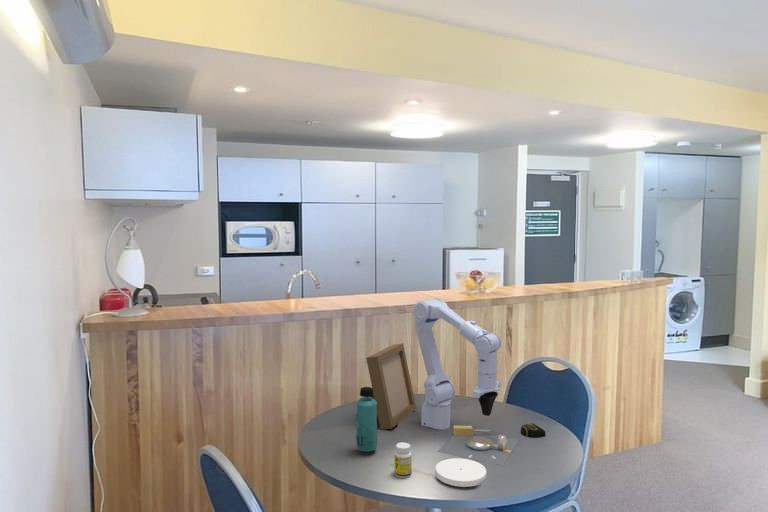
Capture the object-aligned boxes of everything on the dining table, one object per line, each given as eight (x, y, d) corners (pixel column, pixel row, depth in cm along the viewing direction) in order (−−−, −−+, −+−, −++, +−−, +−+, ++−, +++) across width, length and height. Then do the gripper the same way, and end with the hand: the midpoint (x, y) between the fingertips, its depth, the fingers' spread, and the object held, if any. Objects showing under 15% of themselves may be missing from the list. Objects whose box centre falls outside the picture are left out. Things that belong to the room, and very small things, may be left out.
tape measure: (546, 440, 175) (546, 429, 174) (528, 443, 172) (528, 431, 172) (534, 432, 181) (534, 421, 181) (516, 434, 179) (516, 423, 179)
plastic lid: (438, 464, 157) (438, 455, 157) (487, 469, 154) (487, 461, 154) (431, 487, 144) (432, 477, 143) (485, 493, 140) (485, 484, 140)
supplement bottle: (393, 470, 152) (393, 441, 152) (410, 470, 153) (410, 441, 152) (395, 478, 147) (395, 449, 147) (412, 478, 148) (412, 448, 147)
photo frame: (416, 411, 200) (417, 344, 199) (391, 431, 181) (392, 358, 179) (380, 404, 207) (381, 340, 205) (353, 423, 187) (353, 353, 186)
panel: (437, 455, 162) (437, 450, 162) (458, 432, 180) (458, 428, 180) (502, 469, 153) (502, 464, 153) (518, 444, 171) (518, 439, 171)
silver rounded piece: (463, 447, 165) (463, 435, 164) (469, 438, 172) (469, 426, 172) (503, 454, 160) (503, 441, 160) (508, 444, 167) (508, 432, 167)
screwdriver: (454, 435, 175) (454, 428, 174) (453, 432, 177) (453, 425, 177) (491, 436, 174) (491, 429, 174) (490, 433, 177) (490, 426, 176)
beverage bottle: (380, 449, 166) (380, 385, 165) (372, 458, 160) (373, 392, 159) (360, 446, 168) (360, 383, 167) (352, 454, 162) (352, 389, 161)
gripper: (487, 380, 160) (486, 424, 161) (509, 369, 171) (508, 411, 172) (467, 375, 165) (466, 418, 166) (489, 365, 176) (488, 406, 177)
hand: (486, 414), depth 169 cm, fingers closed
